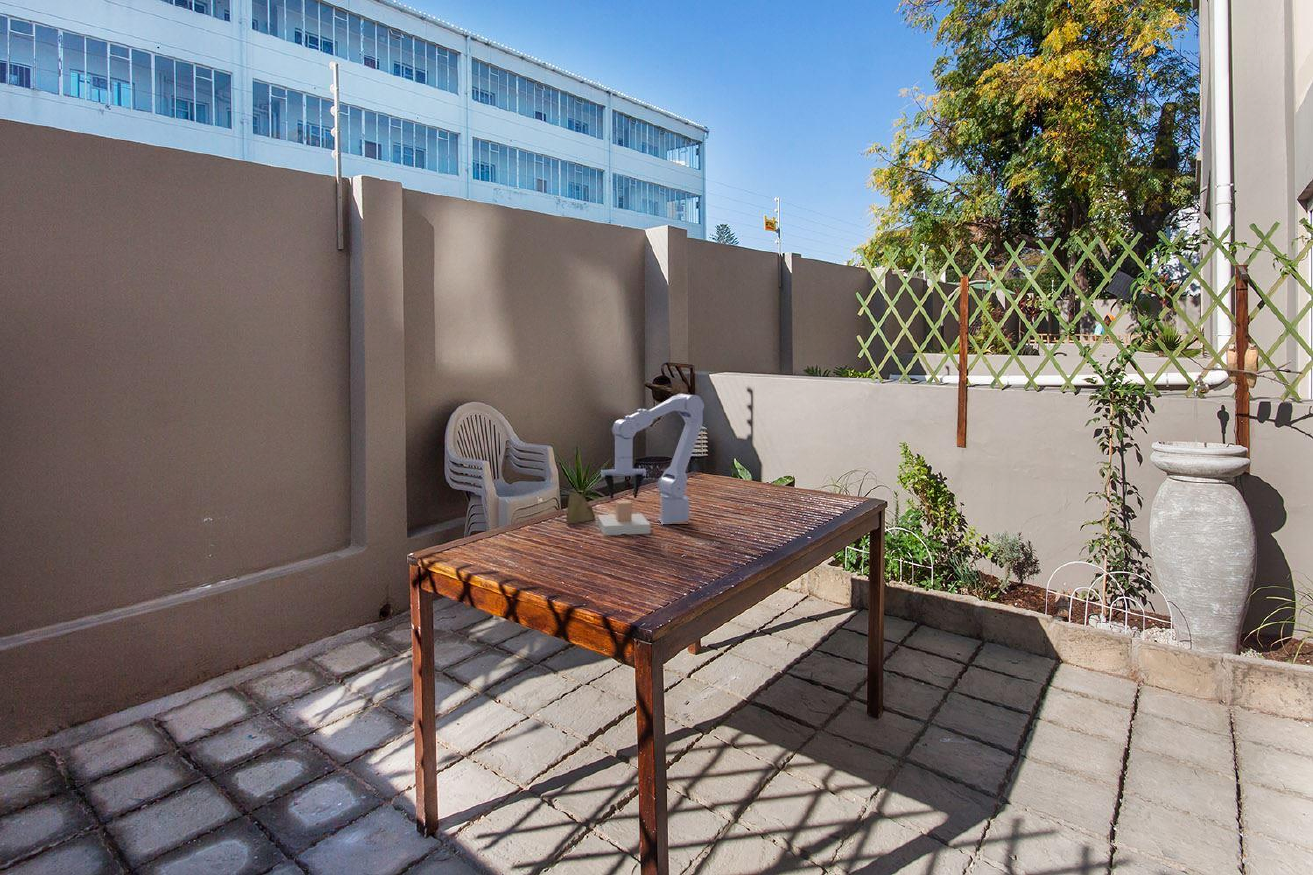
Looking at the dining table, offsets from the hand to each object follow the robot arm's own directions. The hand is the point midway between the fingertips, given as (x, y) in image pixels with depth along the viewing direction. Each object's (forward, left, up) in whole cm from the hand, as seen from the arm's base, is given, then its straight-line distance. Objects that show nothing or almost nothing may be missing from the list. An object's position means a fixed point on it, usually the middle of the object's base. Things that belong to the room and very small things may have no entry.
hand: (623, 497), depth 238 cm
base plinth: (0, 0, -10) cm, 10 cm away
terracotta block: (0, 0, -7) cm, 7 cm away
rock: (+13, -12, -11) cm, 21 cm away
